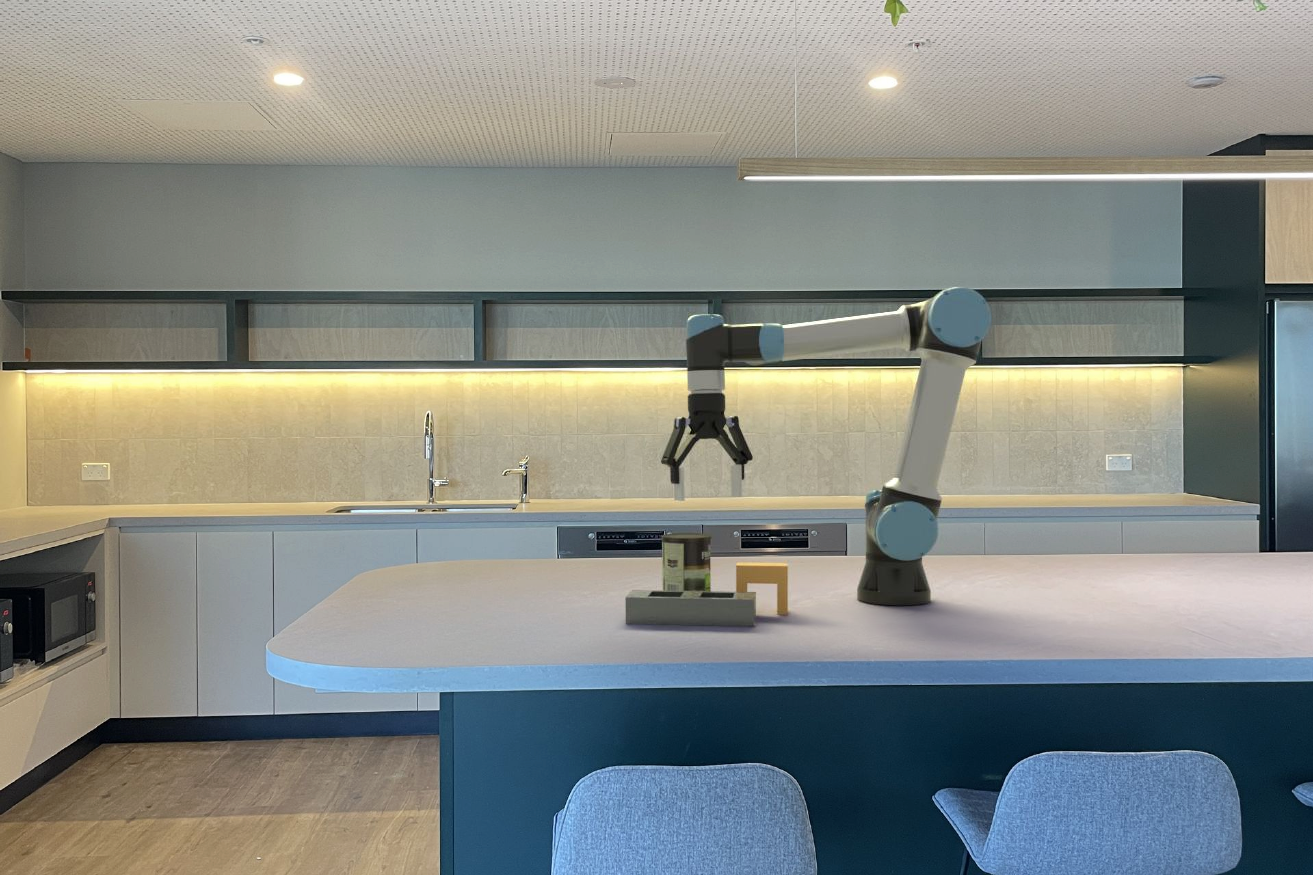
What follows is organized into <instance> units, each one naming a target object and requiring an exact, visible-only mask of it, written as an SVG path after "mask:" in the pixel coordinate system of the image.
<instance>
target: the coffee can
mask: <svg viewBox="0 0 1313 875" xmlns="http://www.w3.org/2000/svg"><path fill="white" fill-rule="evenodd" d="M711 539H712V535H710V534H708V533H701V532H699V533H698V532H696V533H695V532H694V533H693V532H680V533H679V532H676V533H674V532H673V533H665V534H663V535H661V547H662V548H661V550H662V552H661V553H662V556H661V557H662V558H661V563H662V565H661V566H662V590H667V591H712V590H711V589H712V588H711V580H712V579H711V578H712V577H711V568H712V567H711Z"/></svg>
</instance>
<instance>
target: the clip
mask: <svg viewBox="0 0 1313 875" xmlns="http://www.w3.org/2000/svg"><path fill="white" fill-rule="evenodd" d="M788 565H789V562H788V563H787V562H786V563H785V562H780V563H779V562H737V563H736V564H735V570H736V571H735V574H736V575H735V579H736V580H735V582H736V585H735V587H736V588H735V589H736V591H735V592H748V584H758V585H759V584H762V585H763V584H764V585H766V584H771V585H776V587H777V588H776V598H777V600H776V606H777V607H776V615H788V613H789V610H788V608H789V607H788V605H789V603H788V601H789V598H788V597H789V596H788V593H789V592H788V590H789V587H788V586H789V582H788V580H789V575H788V574H789V573H788V571H789V570H788V569H789V568H788Z"/></svg>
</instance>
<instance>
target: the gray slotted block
mask: <svg viewBox="0 0 1313 875" xmlns="http://www.w3.org/2000/svg"><path fill="white" fill-rule="evenodd" d="M624 599H625V602H624V603H625V624H626V625H657V626H660V625H663V626H670V625H671V626H702V627H703V626H707V627H708V626H710V627H747V628H748V627H749V628H750V627H751V628H752V627H753V628H755V625H756V619H757V592H756V591H747V592H736V591H719V590H718V591H717V590H715V591H714V590H713V591H712V590H711V591H667V590H663V589H662V590H660V589H659V590H657V589H656V590H655V589H654V590H653V589H632V590H631V591H630V592H628V594H627V595H626V596H625V598H624Z"/></svg>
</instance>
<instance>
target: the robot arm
mask: <svg viewBox="0 0 1313 875" xmlns="http://www.w3.org/2000/svg"><path fill="white" fill-rule="evenodd" d="M991 323H992V313H991V308H990V306H989V304H988V302H987V301H986V299H985V298H984V297H983V295H981V293H979V292H978V291H976V290H974V289H972V288H969V287H965V286H954V287H949V288H948V287H947V288H945V289H943V290H941V291H939V292H938V293H937V294H935V295H934V296H933V297H931V298H929V299H926V300H925V301H920V302H917V303H913V304H907V305H901V306H900V307H899V309H898V310H896V311H889V312H888V311H887V312H882V313H881V312H880V313H871V314H865V315H855V316H850V317H849V316H848V317H842V318H841V317H840V318H832V319H831V318H830V319H824V320H817V321H810V322H809V321H807V322H802V323H792V324H784V325H782V324H781V323H769V322H764V323H747V324H745V323H744V324H729V323H727V324H726V323H725V321H724V316H723V315H720V314H711V313H710V314H693V315H691V316H689V317H688V319H687V320H686V330H685V331H686V333H685V334H686V336H685V337H686V338H685V345H686V346H685V348H686V371H687V372H686V373H687V374H686V375H687V391H688V392H690V393H689V394H688V395H687V411H688V418H686V417H685V416H677V417H675V418H674V422H673V423H674V424H673V429H672V432H671V435H670V437H669V439H668V443H667V444H666V447H665V449H664V452H663V455H662V457H661V460H660V463H661V464H662V465H665V466H666V467H669V470H670V473H669V474H670V483H671V484H673V496H674V498H673V500H674V501H680V502H683V501H686V499H685V467H681V465H682V464H683V463H684V461H685V460H686V457H687V456H688V455H689V453H690V452H692V449H693V448H694V446H695V445H696V443H697V442H698V441H700V440H710V439H711V440H713V439H714V440H716V441H717V442H718V443H719V444H720V445H721V447H722V448H723V450H724V451H725V452H726V454H727V455H728V456H729V457H730V458H731V460H732V461H733V462H734V464H733V463H732V464H730V478H731V479H730V483H731V484H730V485H731V491H730V492H731V497H737V498H741V497H742V498H743V481H744V480H745V476H746V475H745V465H747V464H748V462H751V461H752V460H753V459H754V458H753V455H752V452H751V449H750V447H749V445H748V443H747V441H746V438H745V436H744V433H743V432H742V431H743V430H742V429H741V426H740V420H739V416H737V415H729V416H727V417H726V416H725V412H726V395H725V393H723V391H725V390H726V378H725V376H726V375H725V364H726V363H745V364H747V365H748V366H762V365H763V364H769V363H778V362H779V363H780V362H785V361H795V360H804V359H811V358H820V357H821V358H822V357H829V356H837V355H845V354H855V353H864V352H873V351H880V350H888V349H897V348H898V349H899V348H901V349H902V350H904V351H906V352H914V351H916V353H917V354H918V356H919V357H920V359H921V363H920V366H919V371H918V375H917V380H916V383H915V387H914V391H913V395H912V400H911V403H910V407H909V411H908V415H907V418H906V419H907V420H906V423H905V427H904V431H903V436H902V441H901V444H900V448H899V452H898V456H897V460H896V464H895V468H894V472H893V477H892V478H891V479H890V480H888V481H886V482H885V483H883V484H882V489H877V490H870V491H869V492H867V493H866V495H865V503H864V508H865V562H864V563H865V564H864V565H863V566H864V567H863V569H862V572H861V575H860V579H859V582H858V584H857V589H856V590H857V591H856V598H857V600H858V601H860V602H864V603H868V604H874V605H884V606H885V605H886V606H917V605H918V606H919V605H924V604H929V603H930V602H931V601H932V600H931V599H932V592H931V586H930V585H929V581H928V577H927V575H926V571H925V568H924V565H923V557H925V555H927V554H928V553H929V552H931V551H932V549H933V547H935V545H936V542H937V539H938V535H939V524H938V517H939V514H940V513H939V512H940V509H941V506H942V505H941V504H942V500H943V497H942V496H941V495H940V493H939V490H938V489H937V487H938V484H939V480H940V475H941V471H942V467H943V463H944V460H945V455H946V452H947V447H948V442H949V439H950V435H951V432H952V427H953V423H954V419H955V414H956V411H957V407H958V403H959V399H960V396H961V395H960V394H961V391H962V387H963V383H964V379H965V374H966V371H967V370H968V369H969V368H970V367H972V366H973V365H975V364H976V363H977V359H978V356H979V351H980V347H981V345H982V340H983V339H984V338H985V337H986V335H987V334H988V331H989V330H990V327H991ZM725 426H726V427H727V428H728V431H729V434H730V436H731V438H730V437H729V434H728V433H727V431H726V430H725ZM687 428H689V431H688V432H687V434H686V436H685V439H684V441H683V442H681V441H682V439H683V437H684V434H685V431H686V429H687ZM731 439H732V440H733V441H732V440H731ZM680 444H681V445H680Z"/></svg>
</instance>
